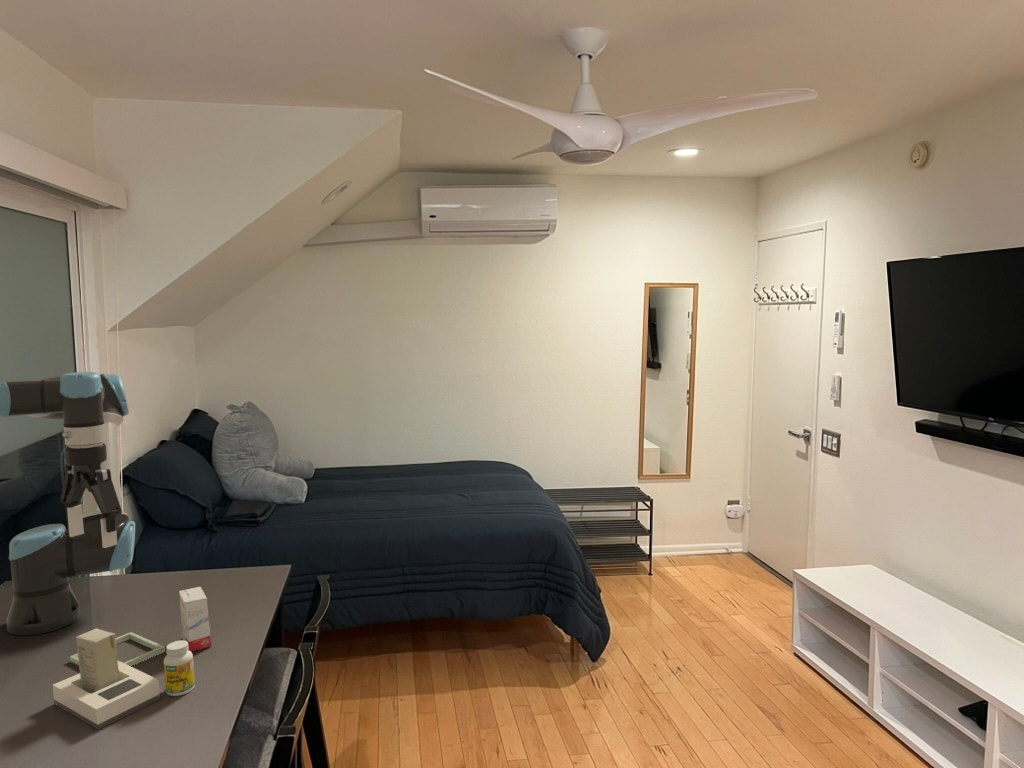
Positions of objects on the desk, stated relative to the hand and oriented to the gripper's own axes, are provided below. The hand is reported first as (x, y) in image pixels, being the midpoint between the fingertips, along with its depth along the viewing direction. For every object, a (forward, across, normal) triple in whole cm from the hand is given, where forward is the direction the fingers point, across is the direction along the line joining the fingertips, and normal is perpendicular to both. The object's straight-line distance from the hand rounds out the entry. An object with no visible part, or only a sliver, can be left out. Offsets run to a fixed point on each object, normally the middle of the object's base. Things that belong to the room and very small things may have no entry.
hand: (93, 540), depth 154 cm
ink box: (+27, +12, +15) cm, 33 cm away
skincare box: (+26, +17, -9) cm, 32 cm away
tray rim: (+27, +3, +2) cm, 27 cm away
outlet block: (+27, +19, -9) cm, 34 cm away
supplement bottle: (+27, +27, +1) cm, 38 cm away
